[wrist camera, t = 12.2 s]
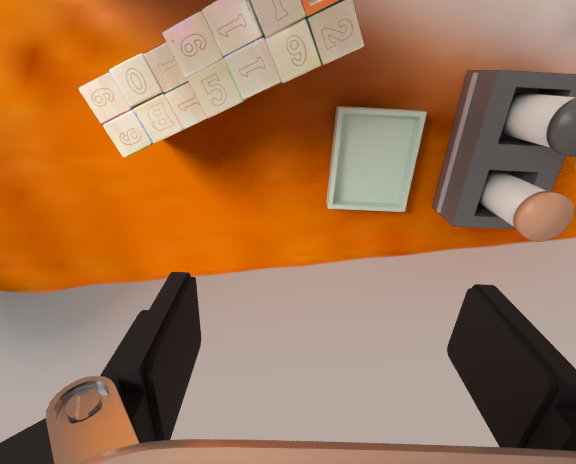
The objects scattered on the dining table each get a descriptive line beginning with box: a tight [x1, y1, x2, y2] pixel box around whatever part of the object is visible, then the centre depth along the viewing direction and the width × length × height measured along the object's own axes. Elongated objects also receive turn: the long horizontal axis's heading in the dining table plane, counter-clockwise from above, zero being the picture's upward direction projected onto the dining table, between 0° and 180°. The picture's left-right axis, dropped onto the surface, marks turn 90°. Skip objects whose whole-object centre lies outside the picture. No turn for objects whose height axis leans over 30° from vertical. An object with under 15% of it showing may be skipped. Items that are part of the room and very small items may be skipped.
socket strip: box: [432, 70, 576, 229], centre depth 34 cm, size 15×9×6 cm, turn 177°
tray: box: [326, 106, 427, 212], centre depth 36 cm, size 11×9×2 cm
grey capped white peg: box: [501, 92, 576, 157], centre depth 29 cm, size 4×4×10 cm
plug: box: [479, 170, 574, 242], centre depth 33 cm, size 4×4×10 cm
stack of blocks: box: [78, 0, 364, 157], centre depth 28 cm, size 21×6×12 cm, turn 113°
